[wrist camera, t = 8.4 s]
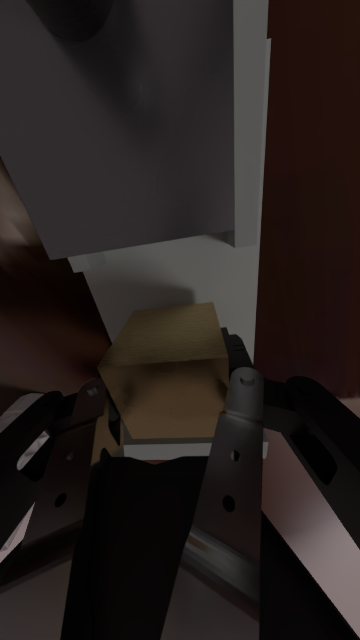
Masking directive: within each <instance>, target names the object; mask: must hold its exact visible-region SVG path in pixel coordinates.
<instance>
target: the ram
mask: <svg viewBox="0 0 360 640" xmlns="http://www.w3.org/2000/svg"><path fill="white" fill-rule="evenodd" d="M0 156H1V158H2V160H3V163H4V165H5V167H6V169H7V171H8V173H9V175H10V177H11V179H12V181H13V183H14V185H15V187H16V190H17V192H18V194H19V196H20V198H21V200H22V202H23V204H24V206H25V208H26V210H27V212H28V215H29V217H30V219H31V221H32V223H33V225H34V227H35V229H36V231H37V233H38V235H39V237H40V240H41V242H42V244H43V246H44V248H45V250H46V252H47V254H48V256H49V258H50V260H54V259H61V258H67V257H73V256H79V255H85V254H91V253H97V252H103V251H109V250H115V249H121V248H127V247H134V246H140V245H146V244H152V243H158V242H164V241H170V240H176V239H182V238H188V237H194V236H201V235H207V234H213V233H219V232H225V231H231V230H234V86H233V0H0Z"/></svg>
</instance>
